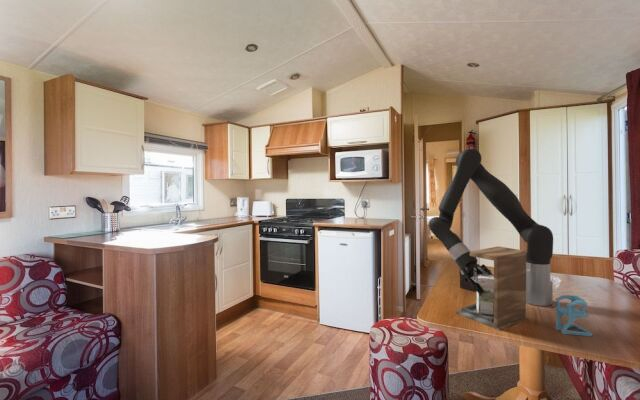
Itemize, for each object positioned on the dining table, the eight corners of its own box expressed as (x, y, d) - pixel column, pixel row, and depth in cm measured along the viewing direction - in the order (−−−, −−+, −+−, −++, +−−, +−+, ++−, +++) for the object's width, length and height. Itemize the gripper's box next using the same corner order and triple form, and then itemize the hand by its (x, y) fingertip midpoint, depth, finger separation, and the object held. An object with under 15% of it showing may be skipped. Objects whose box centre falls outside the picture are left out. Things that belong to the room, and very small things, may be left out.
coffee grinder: (492, 288, 148) (492, 251, 148) (480, 293, 142) (480, 255, 141) (462, 281, 161) (461, 247, 161) (449, 285, 155) (449, 250, 154)
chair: (550, 326, 109) (550, 292, 108) (574, 325, 108) (574, 292, 108) (567, 337, 101) (567, 301, 100) (593, 336, 101) (593, 300, 100)
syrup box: (492, 310, 122) (492, 274, 121) (495, 316, 116) (495, 278, 116) (476, 308, 124) (476, 273, 123) (478, 314, 118) (478, 277, 118)
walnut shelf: (455, 312, 122) (455, 249, 120) (483, 303, 130) (483, 244, 129) (498, 329, 107) (498, 257, 106) (526, 318, 115) (526, 250, 114)
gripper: (456, 253, 122) (484, 289, 113) (479, 248, 129) (506, 282, 119) (445, 263, 127) (471, 299, 117) (467, 258, 134) (493, 292, 124)
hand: (489, 291), depth 118 cm, fingers open, 8 cm apart
